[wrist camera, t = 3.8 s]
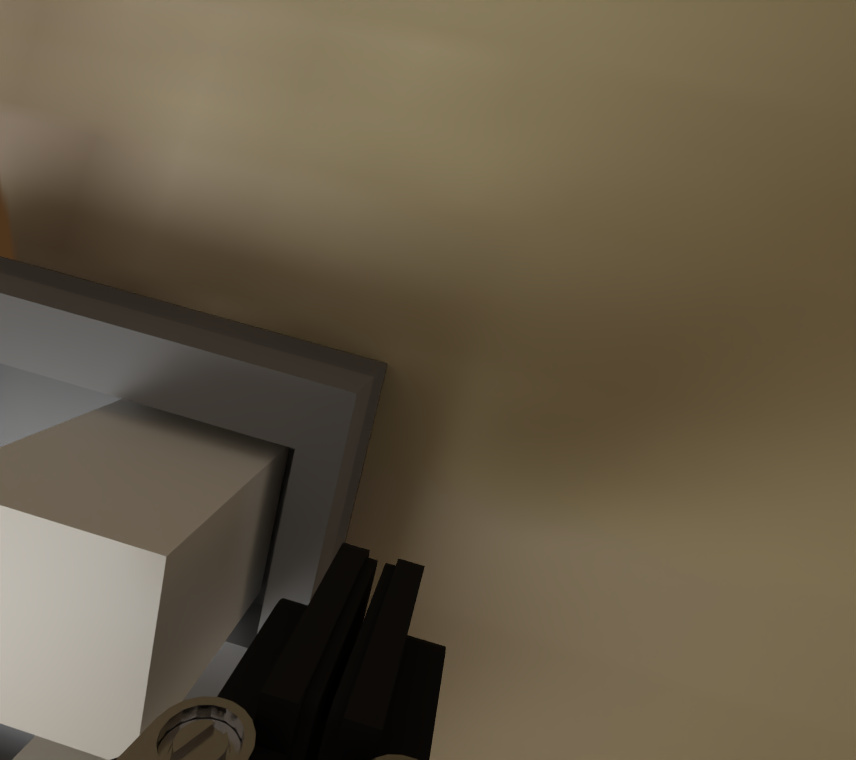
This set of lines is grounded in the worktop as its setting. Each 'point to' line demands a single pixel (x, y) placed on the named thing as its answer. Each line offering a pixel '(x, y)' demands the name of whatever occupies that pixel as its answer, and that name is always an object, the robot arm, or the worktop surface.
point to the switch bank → (195, 411)
